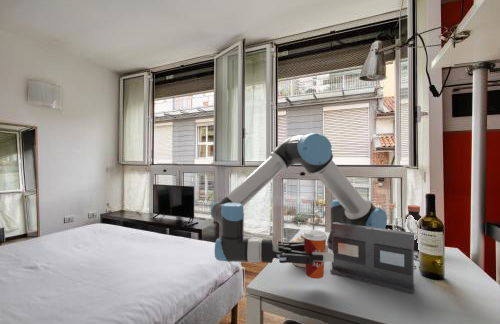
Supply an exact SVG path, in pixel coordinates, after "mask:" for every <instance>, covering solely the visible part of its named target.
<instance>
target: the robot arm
mask: <svg viewBox="0 0 500 324" xmlns="http://www.w3.org/2000/svg"><path fill="white" fill-rule="evenodd" d="M333 158H334V155H333V149H332V143H331V141H330V140H329V138H327V137H326V136H325V135H324V134H321V133H317V132H308V133H305V134H297V135H291V136H289V137H287V138H286V139H284V140H282V142H280V144H278V145H277V146H276V147H275V148H274V149H273V150H271V152H269V157H268V158H267V159H266V160H264V162H262V163H261V164H260V165H259V166H258V167H257V168H255V170H254V171H252V173H251V174H249V175H248V176H247V177H246V178H245V179H244V180H242V182H240V183H239V184H238V185H237V186H236V187H235V188H234V189H233V190H232V191H230V192H229V194H228V195H226V196H225V197H224V198H223V199H222V200H221V201H216V202H214V203H213V204H211V208H210V215H211V217H212V218H213V220H214V221H215V222H217V223H218V224H219V225H220V226H221V237H217V238H216V240H215V243H214V257H215V260H217V261H219V262H220V261H221V262H228V263H230V262H233V263H234V262H235V263H236V262H238V263H239V262H241V263H245V262H246V263H250V264H255V263H260V262H262V263H264V264H267V263H268V264H272V263H273V260H274V259H278V260H279V261H278V262H279V263H281V264H293V263H298V264H313V261H322V262H324V263H325V262H328V263H332V262H334V253H333V252H332V251H329V249H331V250H332V224H333V223H334V222H339V223H346V224H353V225H360V226H368V227H375V228H382V229H386V226H387V223H388V222H387V221H388V215H387V212H386V211H385V210H384V209H383V208H380V207H376V206H374V204H373V202H371V200H370V199H369V198H368V197H363V196H362V195H361V194H360V193H359V191H358V190H357V189H356V187H354V185H353V184H352V183H351V182H350V181H349V179H348V178H347V177H346V176H345V174H344V173H343V172H342V171H341V169H340V168H339V167H338V166H337V164H336V163H335V162H334V161H333ZM297 164H298V165H301V166H302V167H303V168H304V169H305V171H306V172H307V173H308V174H312V175H315V176H316V177H317V179H319V181H320V182H321V183H322V184H323V186H324V187H325V188H326V189H327V190H328V192H329V193H330V194H331V195H332V196H333V198H335V199H333V200H331V201H330V202H331V204H330V231H329V235H328V237H327V239H326V240H327V241H326V246H325V252H312V253H307V252H305V244H304V242H292V241H283V240H279V241H277V244H276V243H275V244H274V243H273V239H271V238H270V239H269V238H263V239H260V238H244V231H245V229H244V228H245V227H244V226H245V225H244V223H245V222H244V220H245V219H244V217H245V213H244V212H245V210H244V206H245V205H246V204H248V203H249V201H251V200H253V198H254V197H255V196H256V195H257V194H258V193H259V192H260V191H261V190H262V189H264V188H265V187H266V186H267V185H268V184H269V183H270V182H271V181H272V180H273V179H274V178H275V177H276V176H278V174H279V173H280V172H281V171H286V170H287V169H288V168H289V167H290V166H293V165H297Z"/></svg>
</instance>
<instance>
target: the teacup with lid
mask: <svg viewBox="0 0 500 324" xmlns="http://www.w3.org/2000/svg"><path fill="white" fill-rule="evenodd" d="M303 235H304V233H303V234H300V236H298V237H295V238H293V239H292V241H291V242H304V237H303ZM292 264H293V265H294V266H296V267H300V268H306V264H298V263H292Z"/></svg>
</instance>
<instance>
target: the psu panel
mask: <svg viewBox="0 0 500 324" xmlns="http://www.w3.org/2000/svg"><path fill="white" fill-rule="evenodd" d="M331 250H332V251H331V252H333V253H334V262H331V264H332V265H331V266H332V267H331V268H330V270H329V272H330V274H334V275H337V276H342V277H345V278H348V279H353V280H357V281H360V282H365V283H368V284H373V285H377V286H380V287H384V288H388V289H393V290H396V291H400V292H404V293H408V294H414V281H415V280H414V273H415V272H414V271H415V269H414V268H415V267H414V265H415V263H414V262H415V261H414V259H415V257H414V256H415V250H414V233H411V232H405V231H403V230H395V229H389V228H385V229H382V228H375V227H368V226H360V225H353V224H346V223H339V222H334V223H333V224H332V249H331Z"/></svg>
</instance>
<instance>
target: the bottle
mask: <svg viewBox="0 0 500 324" xmlns="http://www.w3.org/2000/svg"><path fill="white" fill-rule="evenodd" d="M420 212H421V206H419V205H413V204H409V205H407V214H406V215H405V218H404V219H405V222H406V219H407V217H408V216H409V215H412V216H413V217H414V219H415V220H417V221H418V220H419V219H420V218H421V217H422V216H421V214H420ZM414 252H418V243H417V239H416V240H414Z"/></svg>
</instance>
